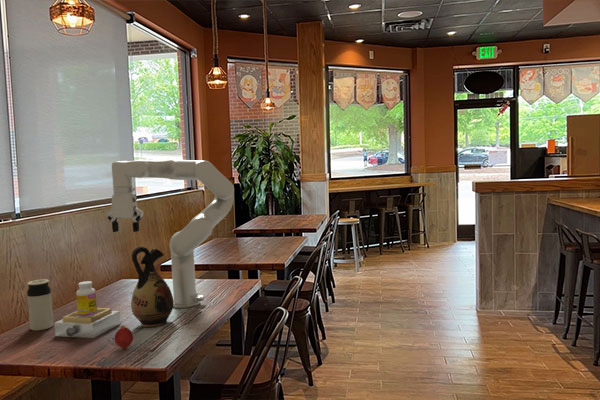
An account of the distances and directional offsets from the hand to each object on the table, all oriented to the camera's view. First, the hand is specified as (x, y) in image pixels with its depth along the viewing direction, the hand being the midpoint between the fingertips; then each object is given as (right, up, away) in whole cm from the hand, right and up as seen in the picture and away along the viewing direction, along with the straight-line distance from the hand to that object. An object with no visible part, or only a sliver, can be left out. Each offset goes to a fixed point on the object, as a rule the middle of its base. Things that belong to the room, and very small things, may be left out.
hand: (125, 231), depth 210 cm
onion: (+15, -36, -45) cm, 59 cm away
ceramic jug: (+17, -34, -19) cm, 43 cm away
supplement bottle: (-6, -31, -23) cm, 38 cm away
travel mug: (-26, -36, -17) cm, 48 cm away
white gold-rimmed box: (-6, -35, -23) cm, 42 cm away
